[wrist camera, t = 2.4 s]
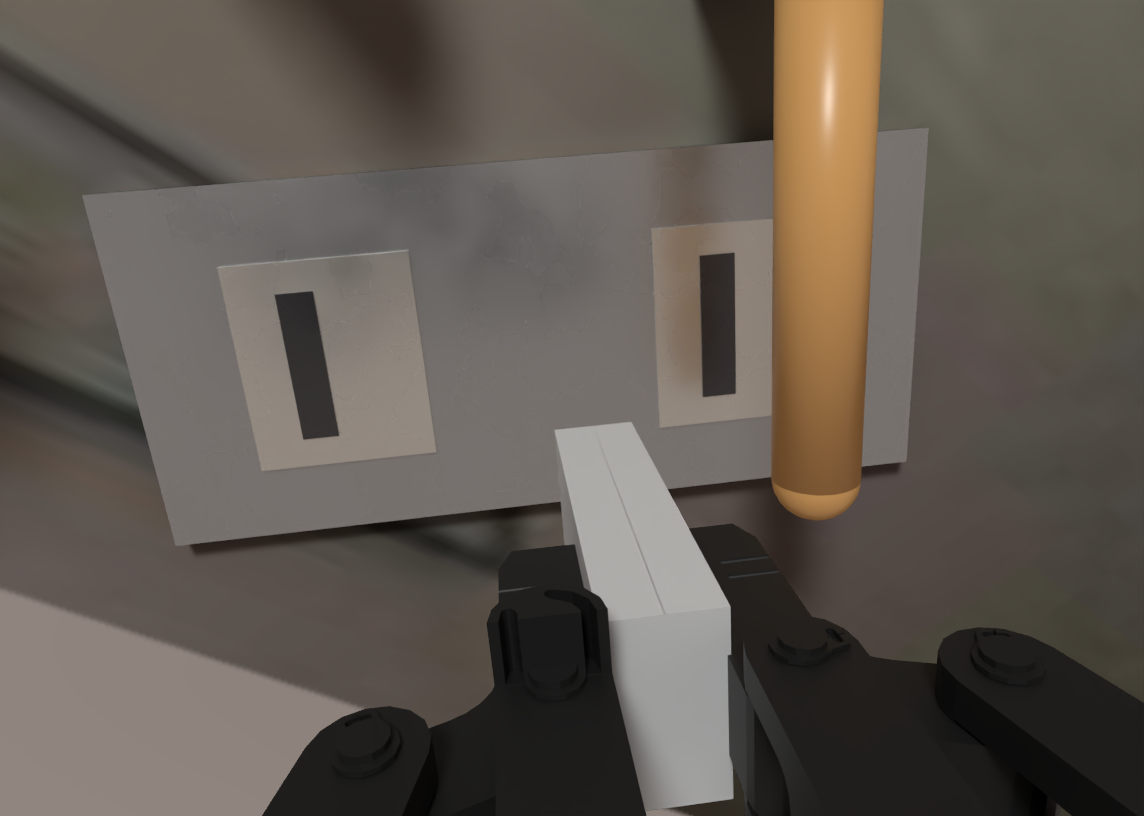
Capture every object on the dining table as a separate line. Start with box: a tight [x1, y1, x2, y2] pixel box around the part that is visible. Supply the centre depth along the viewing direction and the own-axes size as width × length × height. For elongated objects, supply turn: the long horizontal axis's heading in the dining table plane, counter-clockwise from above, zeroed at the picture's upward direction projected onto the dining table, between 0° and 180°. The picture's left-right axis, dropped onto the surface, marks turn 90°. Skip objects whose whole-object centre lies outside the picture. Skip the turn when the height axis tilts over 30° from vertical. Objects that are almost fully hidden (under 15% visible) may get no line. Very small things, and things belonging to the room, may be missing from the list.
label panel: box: [82, 128, 929, 546], centre depth 27 cm, size 12×27×1 cm, turn 94°
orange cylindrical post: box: [771, 0, 884, 520], centre depth 19 cm, size 18×4×3 cm, turn 4°
